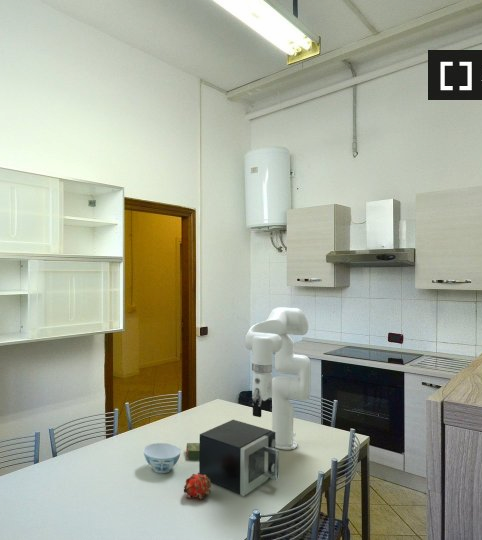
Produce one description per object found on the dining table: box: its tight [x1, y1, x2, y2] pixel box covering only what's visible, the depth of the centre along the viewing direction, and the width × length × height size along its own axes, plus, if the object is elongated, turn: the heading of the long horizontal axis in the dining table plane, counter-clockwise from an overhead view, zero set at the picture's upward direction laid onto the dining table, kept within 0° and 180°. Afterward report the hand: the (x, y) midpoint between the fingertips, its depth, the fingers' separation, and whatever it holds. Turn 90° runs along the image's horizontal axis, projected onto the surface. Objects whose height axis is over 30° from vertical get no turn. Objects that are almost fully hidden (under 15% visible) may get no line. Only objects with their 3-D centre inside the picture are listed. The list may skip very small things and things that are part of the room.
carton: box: [185, 442, 200, 461], centre depth 187 cm, size 8×16×4 cm, turn 88°
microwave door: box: [239, 435, 280, 497], centre depth 158 cm, size 7×18×17 cm, turn 136°
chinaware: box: [143, 442, 182, 474], centre depth 174 cm, size 15×15×8 cm
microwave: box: [198, 419, 276, 496], centre depth 168 cm, size 20×24×17 cm
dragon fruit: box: [183, 472, 212, 500], centre depth 153 cm, size 8×8×12 cm
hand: (261, 412), depth 164 cm, fingers open, 9 cm apart
